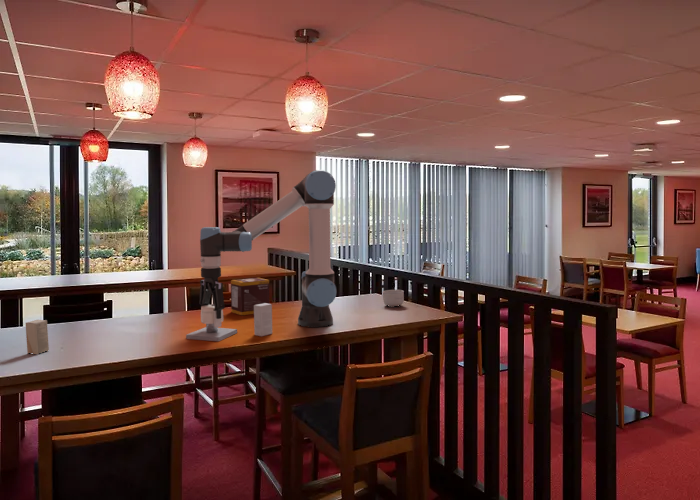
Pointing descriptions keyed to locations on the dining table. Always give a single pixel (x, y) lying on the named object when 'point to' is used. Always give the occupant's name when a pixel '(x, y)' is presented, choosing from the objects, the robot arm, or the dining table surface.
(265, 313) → the skincare box
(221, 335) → the board
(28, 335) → the box
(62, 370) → the dining table surface
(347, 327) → the dining table surface
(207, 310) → the white lidded jar
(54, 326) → the dining table surface
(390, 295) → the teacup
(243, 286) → the supplement box
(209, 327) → the post
